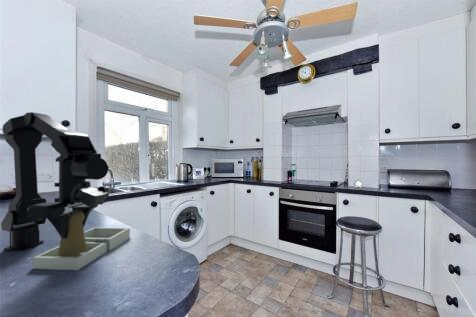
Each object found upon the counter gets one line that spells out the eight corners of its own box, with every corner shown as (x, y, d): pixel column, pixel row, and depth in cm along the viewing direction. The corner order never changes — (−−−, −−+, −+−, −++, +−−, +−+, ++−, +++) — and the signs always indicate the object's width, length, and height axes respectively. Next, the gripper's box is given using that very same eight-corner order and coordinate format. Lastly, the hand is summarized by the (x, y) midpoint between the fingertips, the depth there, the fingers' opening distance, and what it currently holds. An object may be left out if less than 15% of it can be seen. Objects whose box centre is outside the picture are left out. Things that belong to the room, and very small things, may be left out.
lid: (32, 268, 51) (32, 257, 51) (68, 250, 61) (68, 241, 61) (77, 270, 50) (77, 258, 50) (106, 251, 60) (106, 242, 60)
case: (66, 250, 61) (66, 238, 61) (94, 237, 72) (94, 226, 72) (108, 251, 60) (108, 239, 60) (129, 237, 71) (129, 227, 71)
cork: (70, 257, 52) (70, 215, 52) (52, 255, 53) (52, 214, 53) (92, 247, 58) (91, 209, 58) (74, 245, 59) (74, 208, 59)
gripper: (70, 182, 46) (69, 251, 46) (122, 175, 65) (122, 224, 65) (24, 182, 47) (24, 249, 47) (89, 175, 65) (88, 224, 65)
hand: (72, 235), depth 56 cm, fingers closed on cork, 4 cm apart
